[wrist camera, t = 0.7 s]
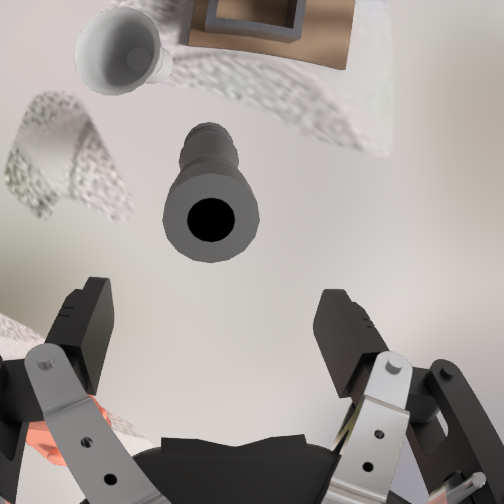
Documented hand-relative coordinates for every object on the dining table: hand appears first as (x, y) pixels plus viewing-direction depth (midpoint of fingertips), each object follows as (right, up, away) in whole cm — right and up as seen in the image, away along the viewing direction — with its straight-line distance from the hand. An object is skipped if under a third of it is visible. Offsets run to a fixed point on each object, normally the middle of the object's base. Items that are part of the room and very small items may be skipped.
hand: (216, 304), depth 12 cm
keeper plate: (+4, +33, +21) cm, 39 cm away
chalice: (-11, +25, +23) cm, 36 cm away
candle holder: (-4, +16, +29) cm, 33 cm away
